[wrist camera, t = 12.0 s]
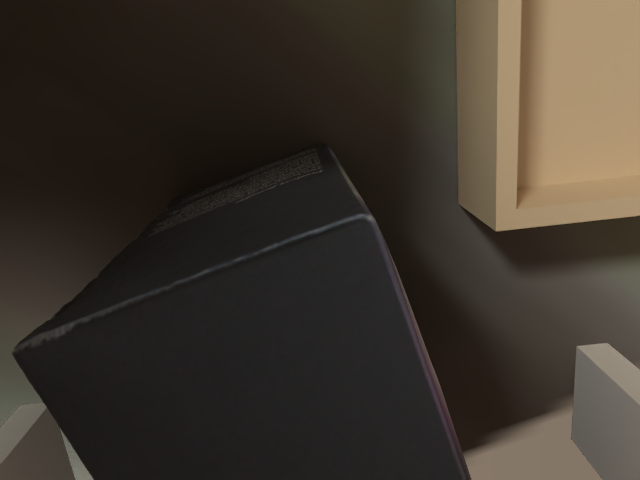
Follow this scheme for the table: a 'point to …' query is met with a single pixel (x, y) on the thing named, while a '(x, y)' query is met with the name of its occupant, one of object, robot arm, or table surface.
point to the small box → (249, 343)
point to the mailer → (548, 110)
